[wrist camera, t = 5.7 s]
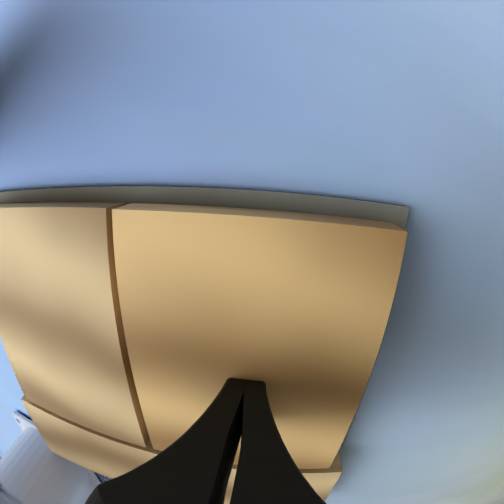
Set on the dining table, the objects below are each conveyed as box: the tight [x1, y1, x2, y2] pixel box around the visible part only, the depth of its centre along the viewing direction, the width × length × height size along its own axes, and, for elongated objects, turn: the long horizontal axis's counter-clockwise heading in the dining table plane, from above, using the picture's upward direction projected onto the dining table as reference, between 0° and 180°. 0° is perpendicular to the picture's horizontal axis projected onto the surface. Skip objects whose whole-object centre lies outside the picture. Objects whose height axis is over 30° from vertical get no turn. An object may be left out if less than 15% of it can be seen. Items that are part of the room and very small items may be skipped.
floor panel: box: [0, 186, 409, 504], centre depth 12 cm, size 19×20×2 cm
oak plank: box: [112, 203, 408, 469], centre depth 10 cm, size 12×9×1 cm
